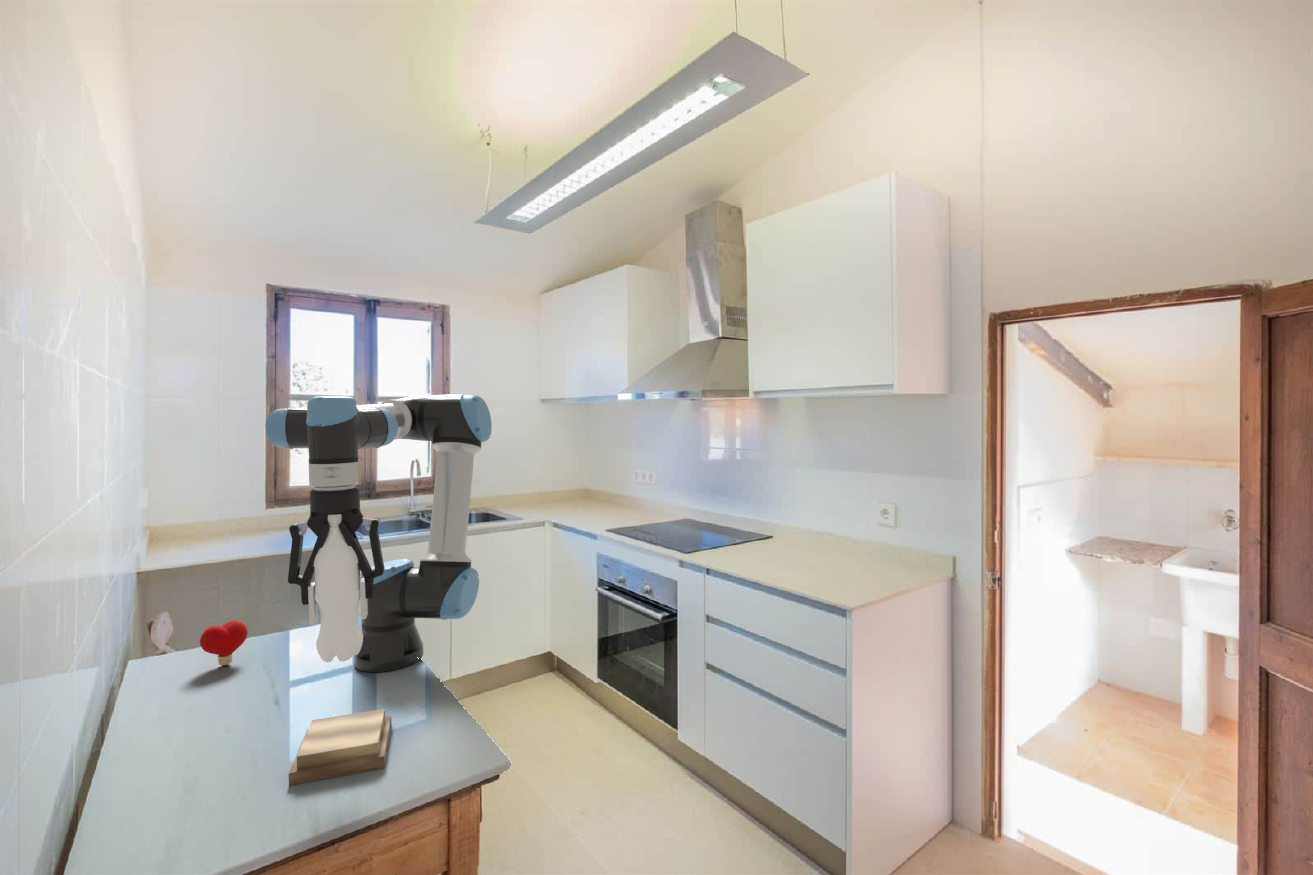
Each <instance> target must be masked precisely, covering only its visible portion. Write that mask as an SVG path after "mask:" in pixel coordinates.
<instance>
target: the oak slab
mask: <svg viewBox="0 0 1313 875" xmlns="http://www.w3.org/2000/svg"><path fill="white" fill-rule="evenodd" d="M385 717H386V711H385V708H380V709H375V710H374V709H373V710H368V711H362V712H361V711H360V712H356V713H348V714H343V715H337V716H331V717H330V716H329V717H324V718H316V719H312V720H311V722H310V725H309V726H308V728H307V729H308V731H307V730H306V731H307V733H306V732H305V734H306V736H305V735H304V736H305V738H304V737H303V738H304V740H303V739H302V741H303V743H302V742H301V743H302V745H301V744H300V745H301V748H300V747H299V748H300V750H299V749H298V750H299V752H298V751H297V752H298V755H297V754H296V755H297V769H298V768H304V767H309V766H315V765H320V764H326V763H331V762H337V761H343V760H348V759H354V758H359V757H365V756H371V755H376V754H378V753H379V748H380V742H381V737H382V732H383V727H384V722H385Z"/></svg>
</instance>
